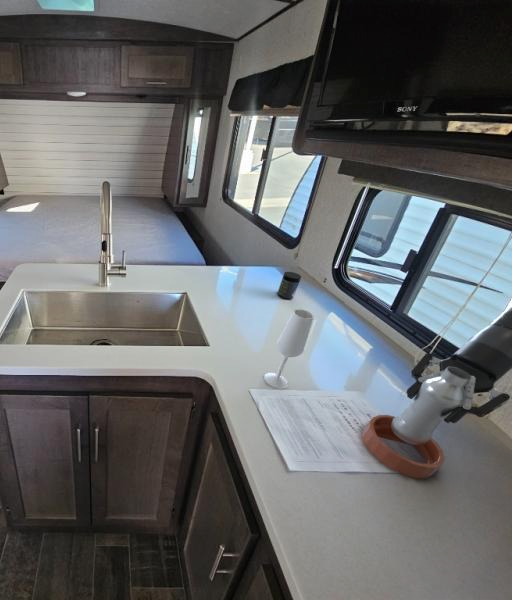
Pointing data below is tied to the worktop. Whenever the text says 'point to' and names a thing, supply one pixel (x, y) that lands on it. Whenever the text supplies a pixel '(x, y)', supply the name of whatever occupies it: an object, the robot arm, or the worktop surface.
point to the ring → (396, 462)
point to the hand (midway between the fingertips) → (426, 408)
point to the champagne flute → (291, 344)
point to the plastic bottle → (431, 406)
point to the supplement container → (288, 285)
